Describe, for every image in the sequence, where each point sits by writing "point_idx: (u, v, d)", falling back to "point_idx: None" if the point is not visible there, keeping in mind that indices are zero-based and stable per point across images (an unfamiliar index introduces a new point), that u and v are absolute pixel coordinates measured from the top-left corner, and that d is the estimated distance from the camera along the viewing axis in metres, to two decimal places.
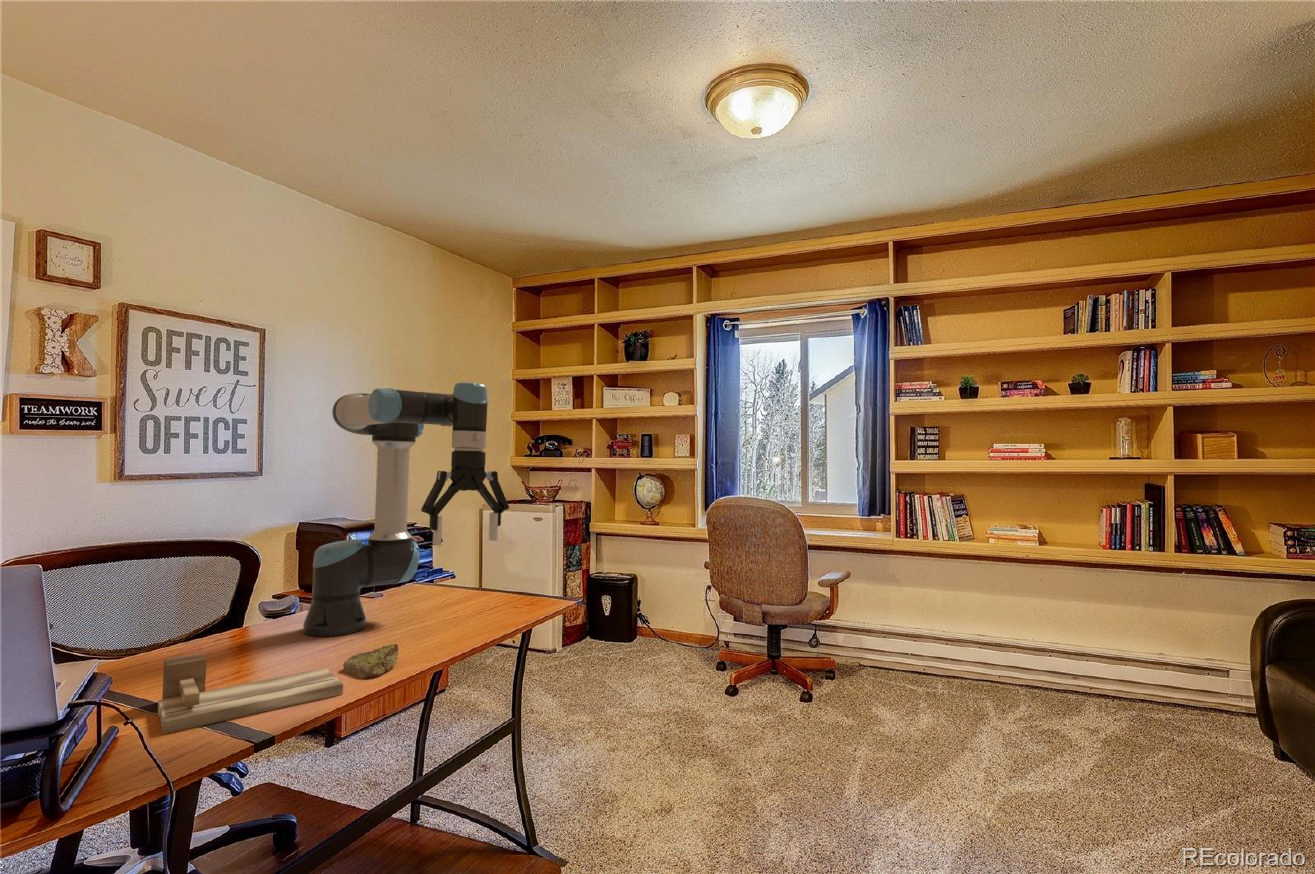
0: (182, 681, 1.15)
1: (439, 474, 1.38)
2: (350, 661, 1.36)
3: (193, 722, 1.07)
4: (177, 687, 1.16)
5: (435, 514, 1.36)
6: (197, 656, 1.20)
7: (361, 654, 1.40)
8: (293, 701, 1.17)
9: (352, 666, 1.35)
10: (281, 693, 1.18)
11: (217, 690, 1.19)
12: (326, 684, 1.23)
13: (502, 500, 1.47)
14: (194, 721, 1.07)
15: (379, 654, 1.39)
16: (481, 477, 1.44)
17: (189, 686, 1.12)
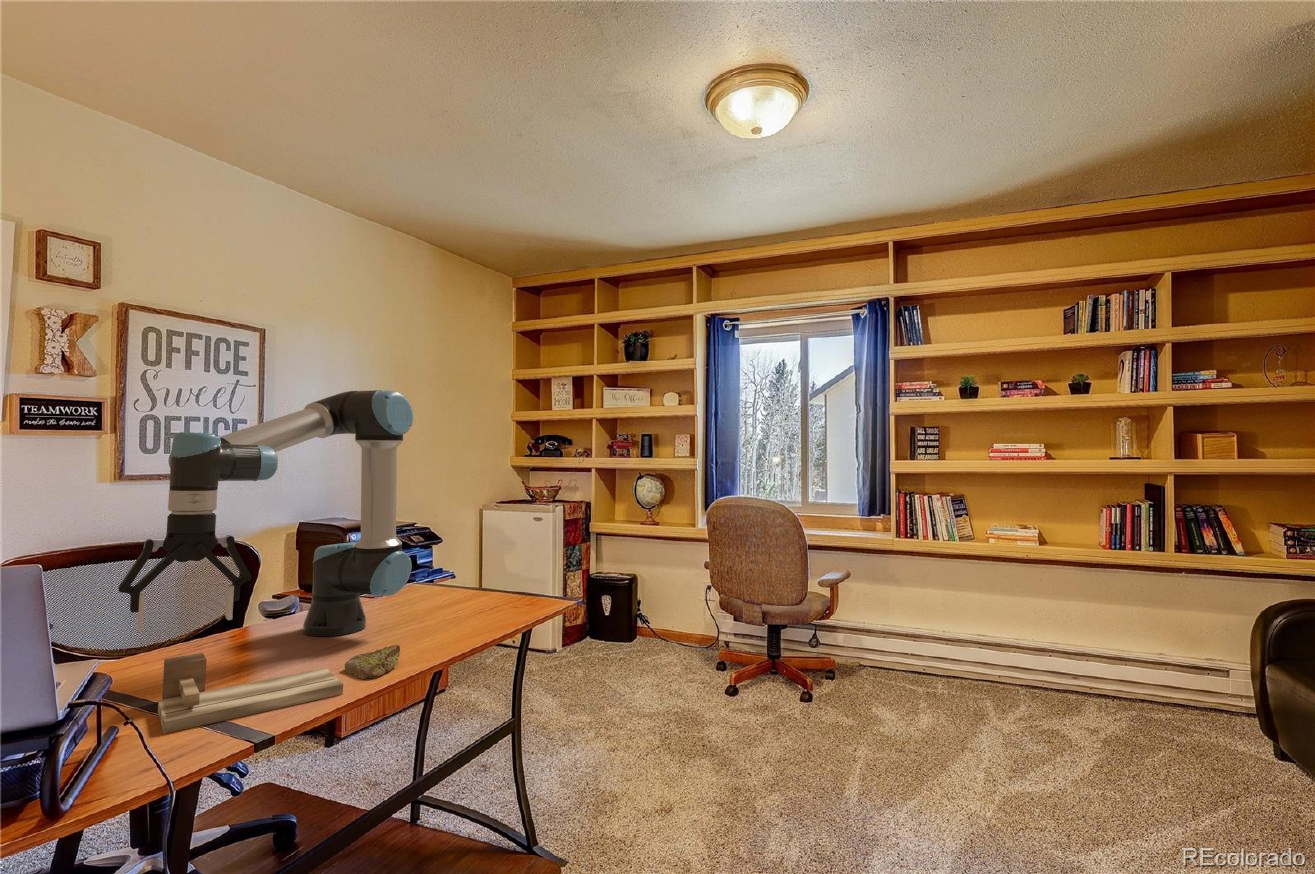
0: (182, 681, 1.15)
1: (144, 544, 1.14)
2: (351, 661, 1.36)
3: (193, 722, 1.07)
4: (177, 687, 1.15)
5: (134, 593, 1.12)
6: (197, 656, 1.20)
7: (363, 654, 1.40)
8: (293, 701, 1.17)
9: (352, 667, 1.35)
10: (281, 693, 1.18)
11: (217, 690, 1.19)
12: (326, 684, 1.23)
13: (241, 570, 1.24)
14: (194, 721, 1.07)
15: (381, 654, 1.38)
16: (209, 544, 1.20)
17: (189, 687, 1.12)
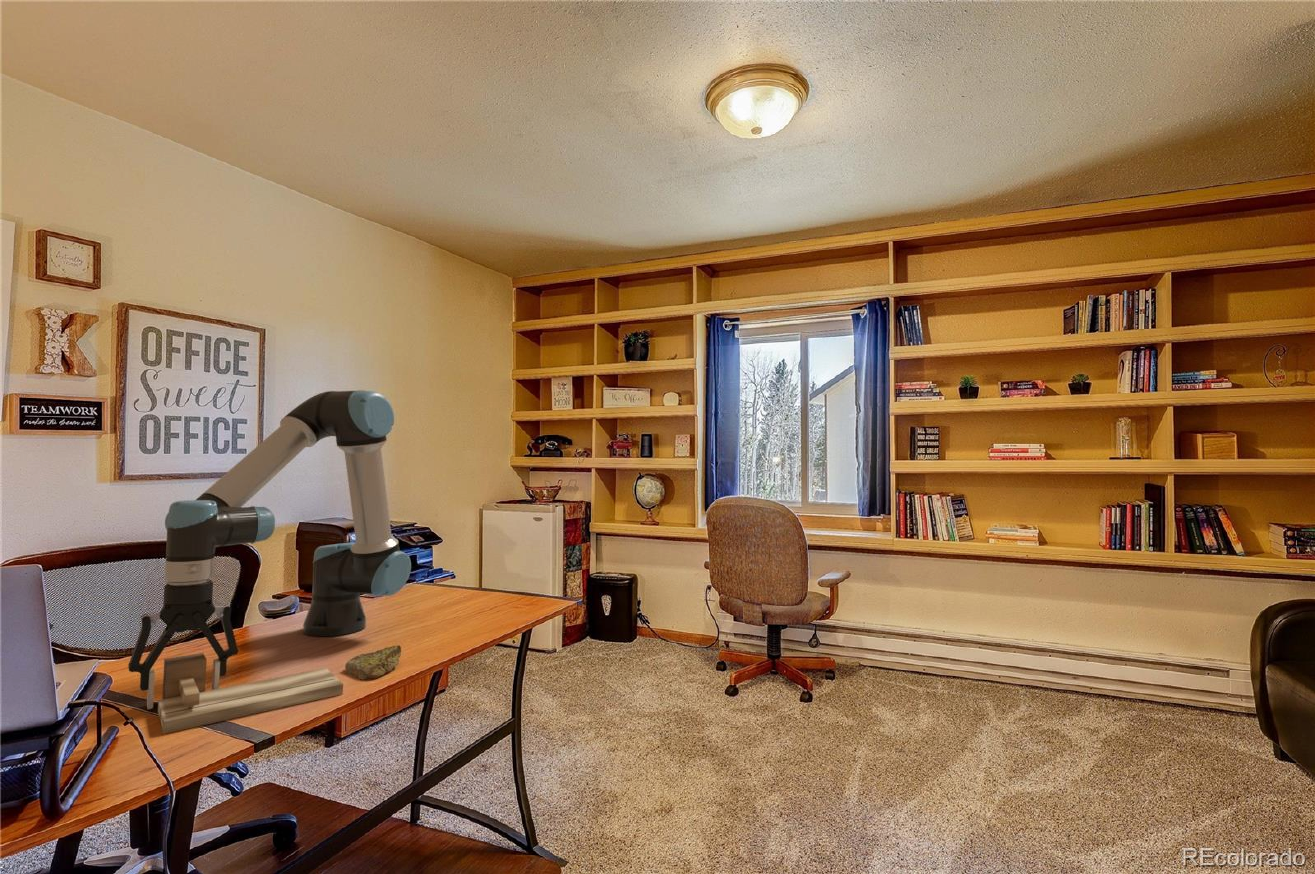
0: (182, 681, 1.15)
1: (141, 620, 1.14)
2: (352, 662, 1.36)
3: (193, 722, 1.07)
4: (177, 687, 1.16)
5: (145, 672, 1.13)
6: (197, 656, 1.20)
7: (364, 655, 1.40)
8: (293, 701, 1.17)
9: (353, 667, 1.34)
10: (281, 693, 1.18)
11: (217, 690, 1.19)
12: (326, 684, 1.23)
13: (230, 643, 1.22)
14: (194, 721, 1.07)
15: (381, 655, 1.38)
16: (205, 613, 1.20)
17: (189, 686, 1.12)
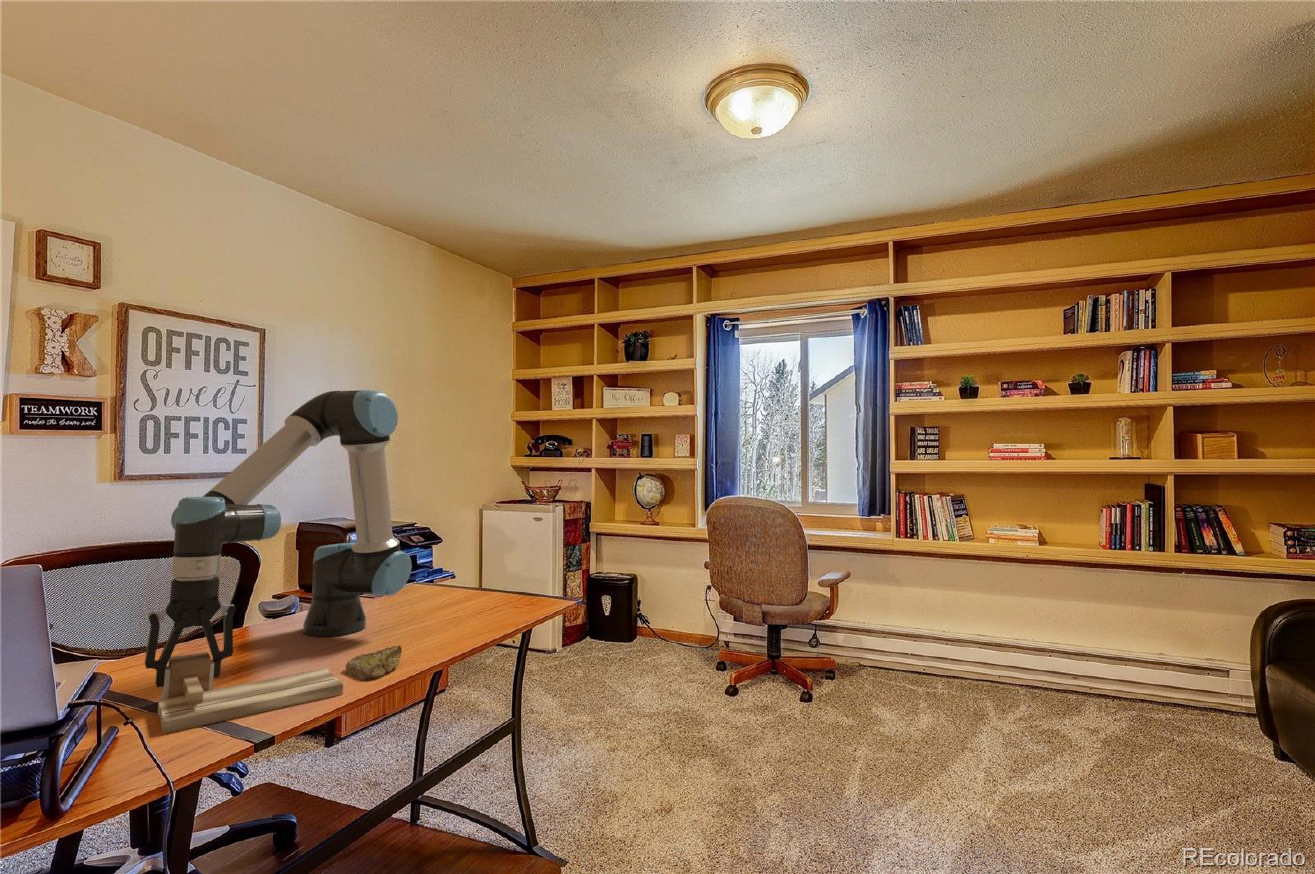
0: (186, 680, 1.15)
1: (149, 619, 1.15)
2: (352, 662, 1.36)
3: (193, 722, 1.07)
4: (181, 685, 1.16)
5: (161, 668, 1.15)
6: (201, 655, 1.20)
7: (364, 655, 1.39)
8: (293, 701, 1.17)
9: (353, 667, 1.34)
10: (281, 693, 1.18)
11: (217, 690, 1.19)
12: (326, 684, 1.23)
13: (227, 644, 1.22)
14: (194, 721, 1.07)
15: (381, 655, 1.38)
16: (211, 608, 1.20)
17: (193, 685, 1.13)
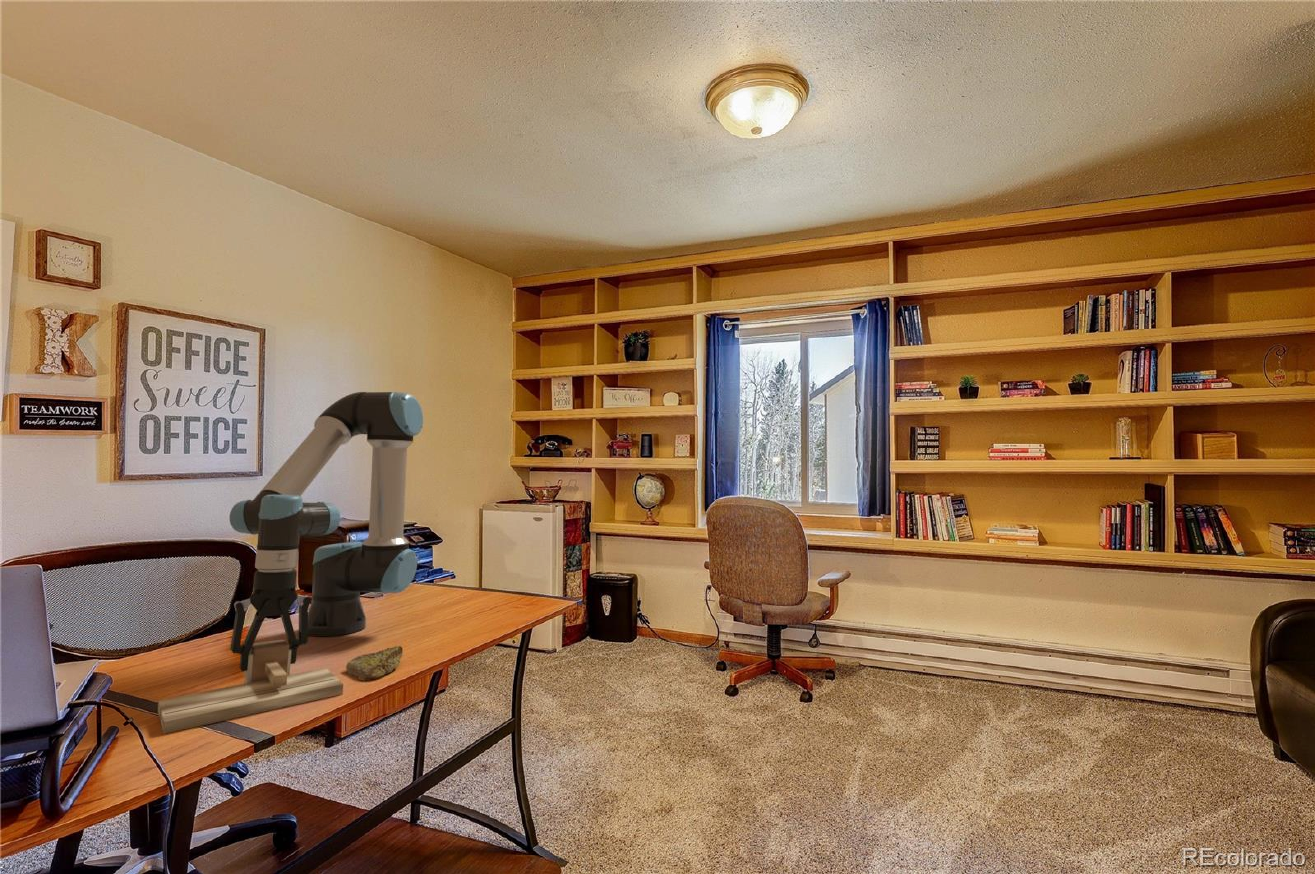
0: (268, 664, 1.24)
1: (235, 607, 1.24)
2: (353, 662, 1.36)
3: (193, 722, 1.07)
4: (263, 670, 1.25)
5: (246, 654, 1.24)
6: (279, 642, 1.29)
7: (365, 655, 1.39)
8: (293, 701, 1.17)
9: (353, 667, 1.34)
10: (281, 693, 1.18)
11: (217, 690, 1.19)
12: (326, 684, 1.23)
13: (302, 632, 1.31)
14: (194, 721, 1.07)
15: (382, 655, 1.37)
16: (289, 599, 1.29)
17: (276, 669, 1.22)
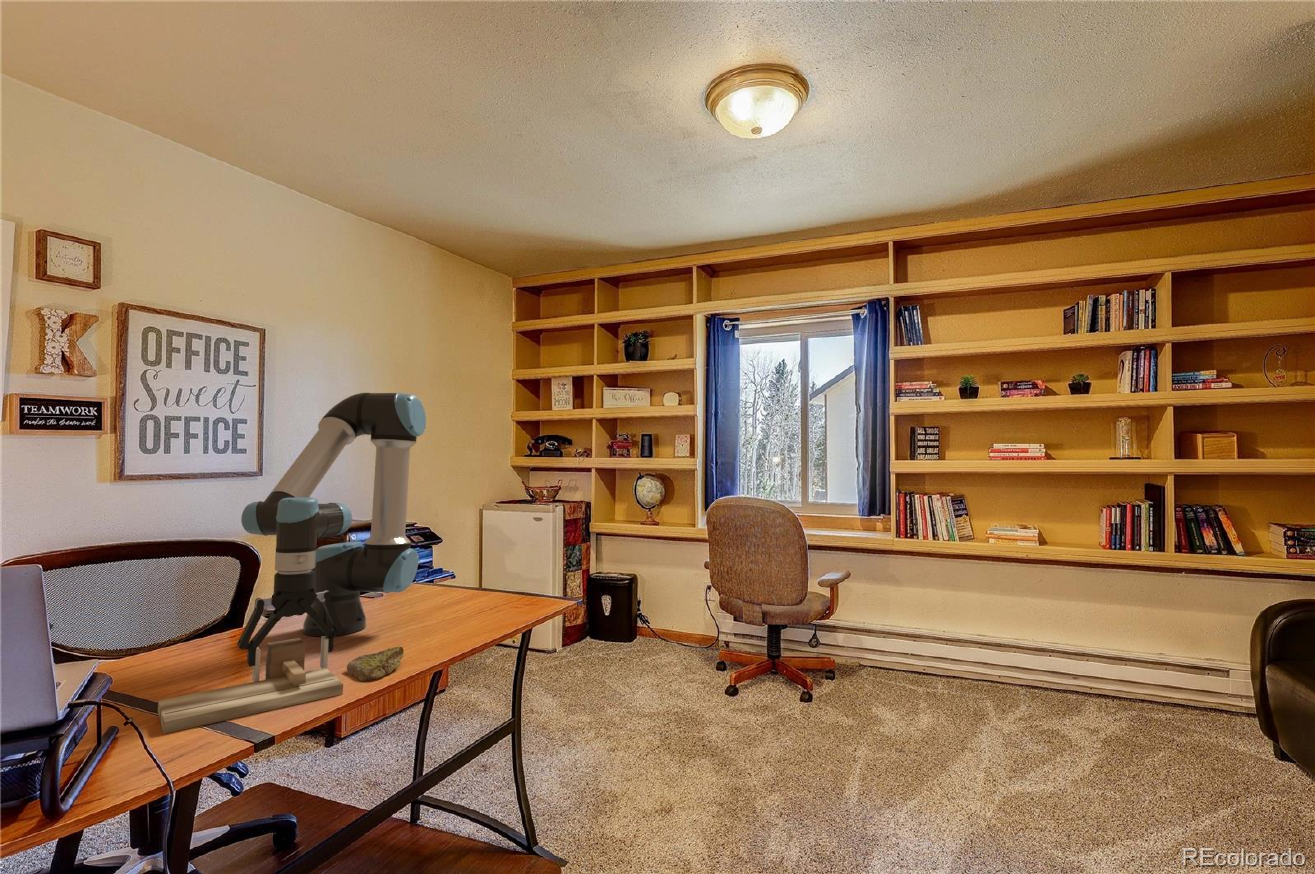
0: (285, 663, 1.26)
1: (256, 603, 1.26)
2: (353, 662, 1.36)
3: (193, 722, 1.07)
4: (281, 668, 1.27)
5: (252, 649, 1.25)
6: (295, 640, 1.31)
7: (366, 656, 1.39)
8: (293, 701, 1.17)
9: (354, 668, 1.34)
10: (281, 693, 1.18)
11: (217, 690, 1.19)
12: (326, 684, 1.23)
13: (335, 623, 1.35)
14: (194, 721, 1.07)
15: (383, 656, 1.37)
16: (309, 599, 1.32)
17: (294, 667, 1.24)
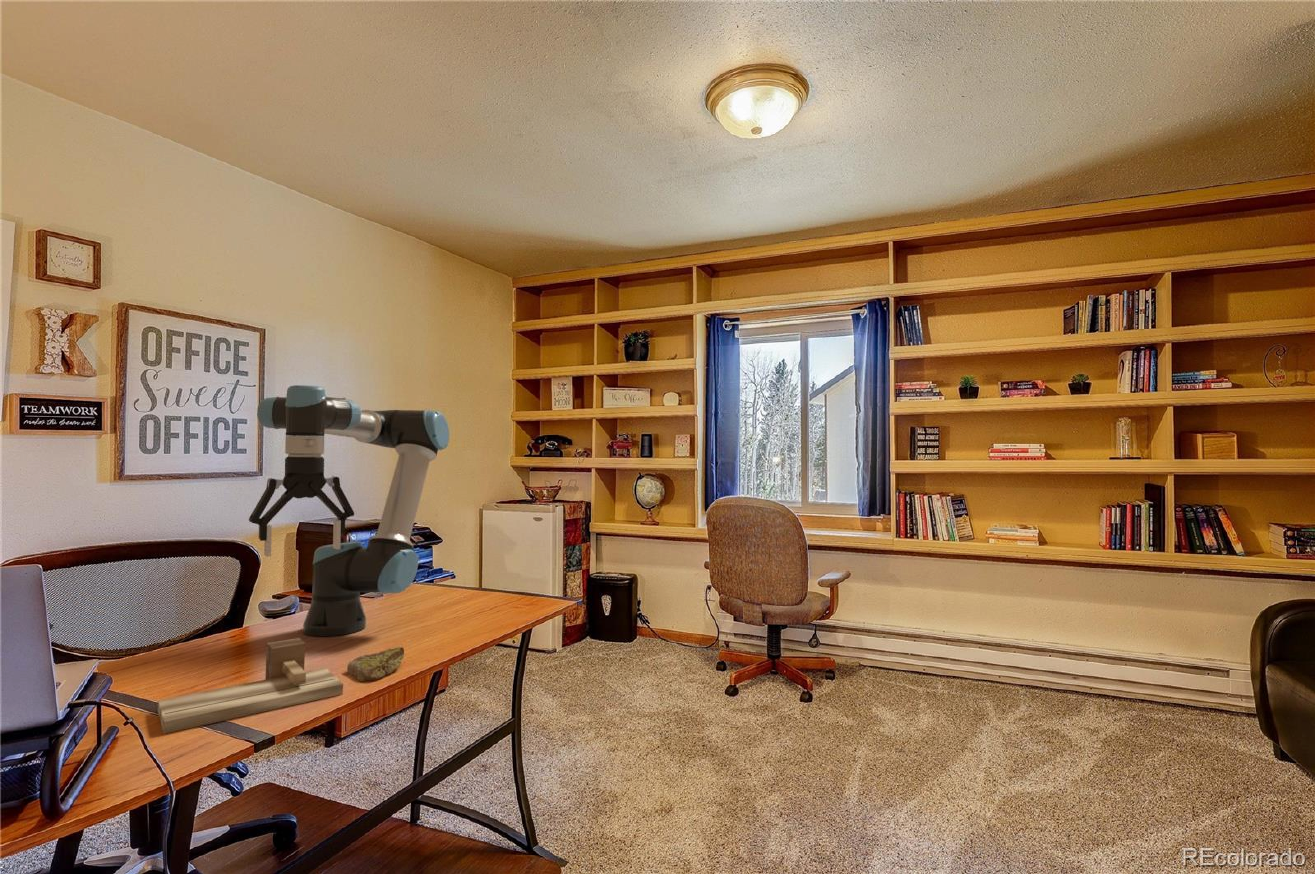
0: (285, 663, 1.26)
1: (268, 482, 1.32)
2: (354, 662, 1.35)
3: (193, 722, 1.07)
4: (281, 668, 1.27)
5: (263, 524, 1.30)
6: (295, 640, 1.31)
7: (367, 656, 1.39)
8: (293, 701, 1.17)
9: (354, 668, 1.34)
10: (281, 693, 1.18)
11: (217, 690, 1.19)
12: (326, 684, 1.23)
13: (346, 507, 1.41)
14: (194, 721, 1.07)
15: (383, 656, 1.37)
16: (319, 484, 1.38)
17: (294, 667, 1.24)
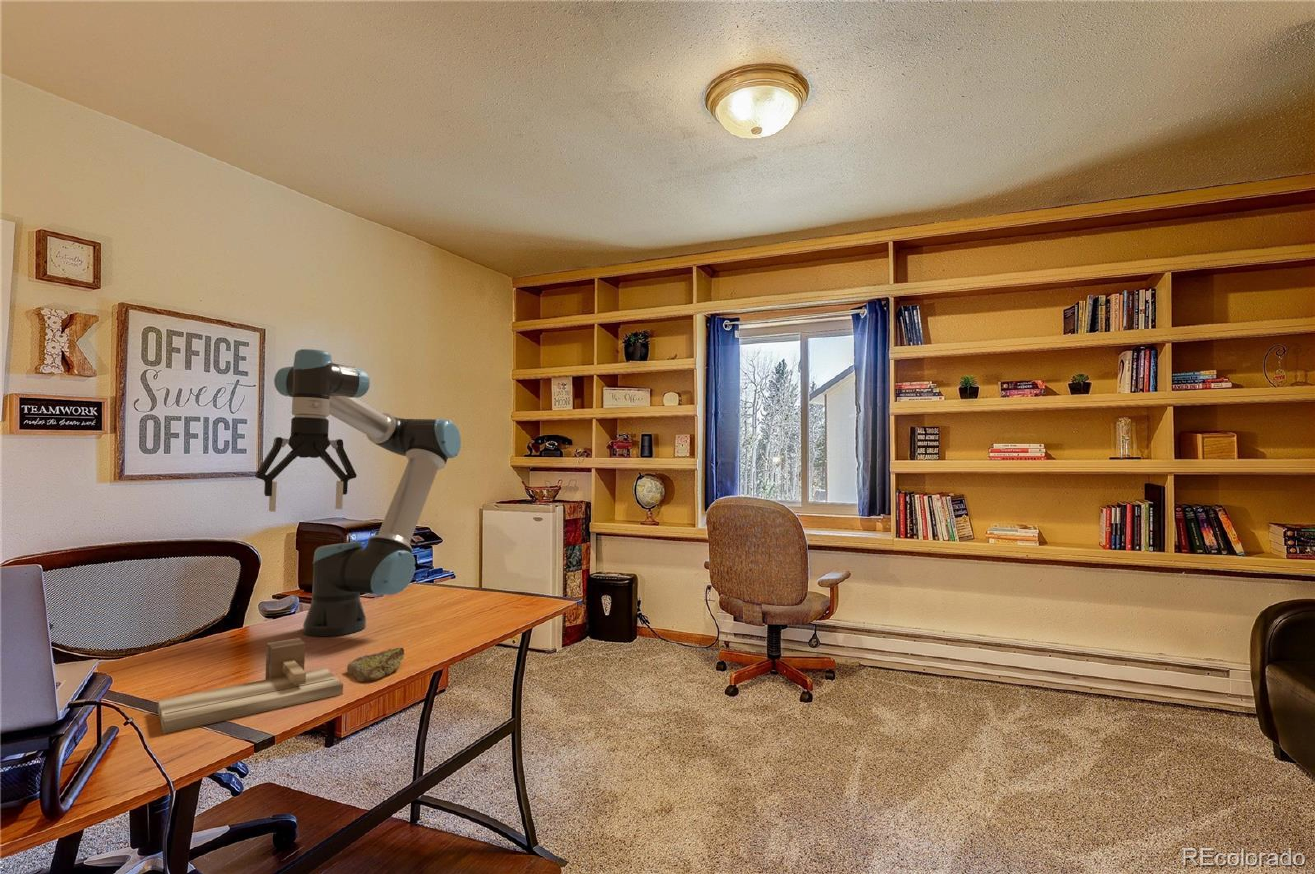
0: (285, 663, 1.26)
1: (275, 440, 1.37)
2: (353, 663, 1.35)
3: (193, 722, 1.07)
4: (281, 668, 1.27)
5: (269, 480, 1.36)
6: (295, 640, 1.31)
7: (367, 656, 1.39)
8: (293, 701, 1.17)
9: (353, 668, 1.34)
10: (281, 693, 1.18)
11: (217, 690, 1.19)
12: (326, 684, 1.23)
13: (348, 468, 1.47)
14: (194, 721, 1.07)
15: (383, 657, 1.37)
16: (324, 444, 1.43)
17: (294, 667, 1.24)
